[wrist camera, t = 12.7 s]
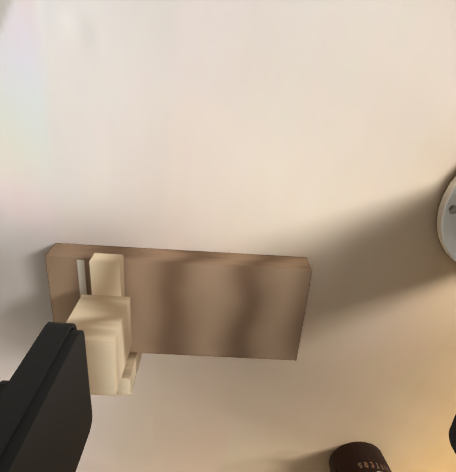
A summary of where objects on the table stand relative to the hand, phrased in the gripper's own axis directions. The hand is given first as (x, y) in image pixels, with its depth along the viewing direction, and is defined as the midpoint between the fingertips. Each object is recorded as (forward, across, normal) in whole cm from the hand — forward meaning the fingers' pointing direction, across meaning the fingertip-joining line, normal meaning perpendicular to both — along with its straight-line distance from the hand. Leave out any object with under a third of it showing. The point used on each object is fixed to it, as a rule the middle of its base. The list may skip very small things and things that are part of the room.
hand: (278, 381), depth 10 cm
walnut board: (+26, +4, +15) cm, 31 cm away
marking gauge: (+26, +10, +16) cm, 32 cm away
